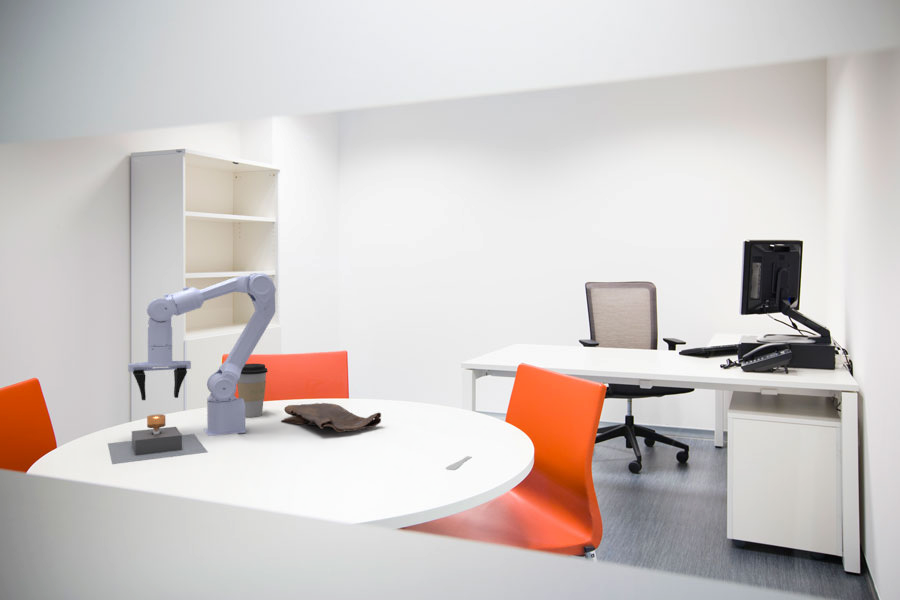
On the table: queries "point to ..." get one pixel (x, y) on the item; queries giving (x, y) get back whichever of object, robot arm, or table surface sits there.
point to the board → (125, 453)
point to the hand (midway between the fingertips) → (160, 398)
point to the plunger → (156, 422)
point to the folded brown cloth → (329, 417)
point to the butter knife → (458, 464)
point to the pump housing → (156, 441)
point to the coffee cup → (252, 388)
